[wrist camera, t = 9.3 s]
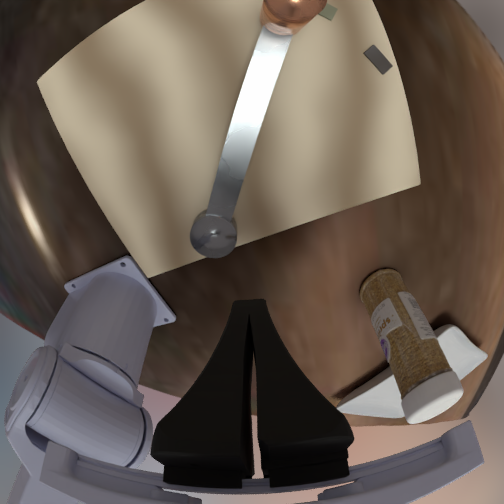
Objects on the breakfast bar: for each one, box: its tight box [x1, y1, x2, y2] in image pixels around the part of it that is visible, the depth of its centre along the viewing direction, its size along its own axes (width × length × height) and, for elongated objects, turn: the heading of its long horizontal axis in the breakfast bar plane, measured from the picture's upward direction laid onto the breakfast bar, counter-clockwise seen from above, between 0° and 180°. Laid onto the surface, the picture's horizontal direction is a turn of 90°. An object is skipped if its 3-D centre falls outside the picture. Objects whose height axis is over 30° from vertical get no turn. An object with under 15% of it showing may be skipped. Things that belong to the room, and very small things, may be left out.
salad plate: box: [336, 324, 488, 418], centre depth 34 cm, size 21×21×3 cm
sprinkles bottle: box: [360, 269, 463, 424], centre depth 19 cm, size 5×5×14 cm
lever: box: [190, 0, 327, 258], centre depth 13 cm, size 3×17×5 cm, turn 163°
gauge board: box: [37, 0, 420, 278], centre depth 15 cm, size 22×18×2 cm
